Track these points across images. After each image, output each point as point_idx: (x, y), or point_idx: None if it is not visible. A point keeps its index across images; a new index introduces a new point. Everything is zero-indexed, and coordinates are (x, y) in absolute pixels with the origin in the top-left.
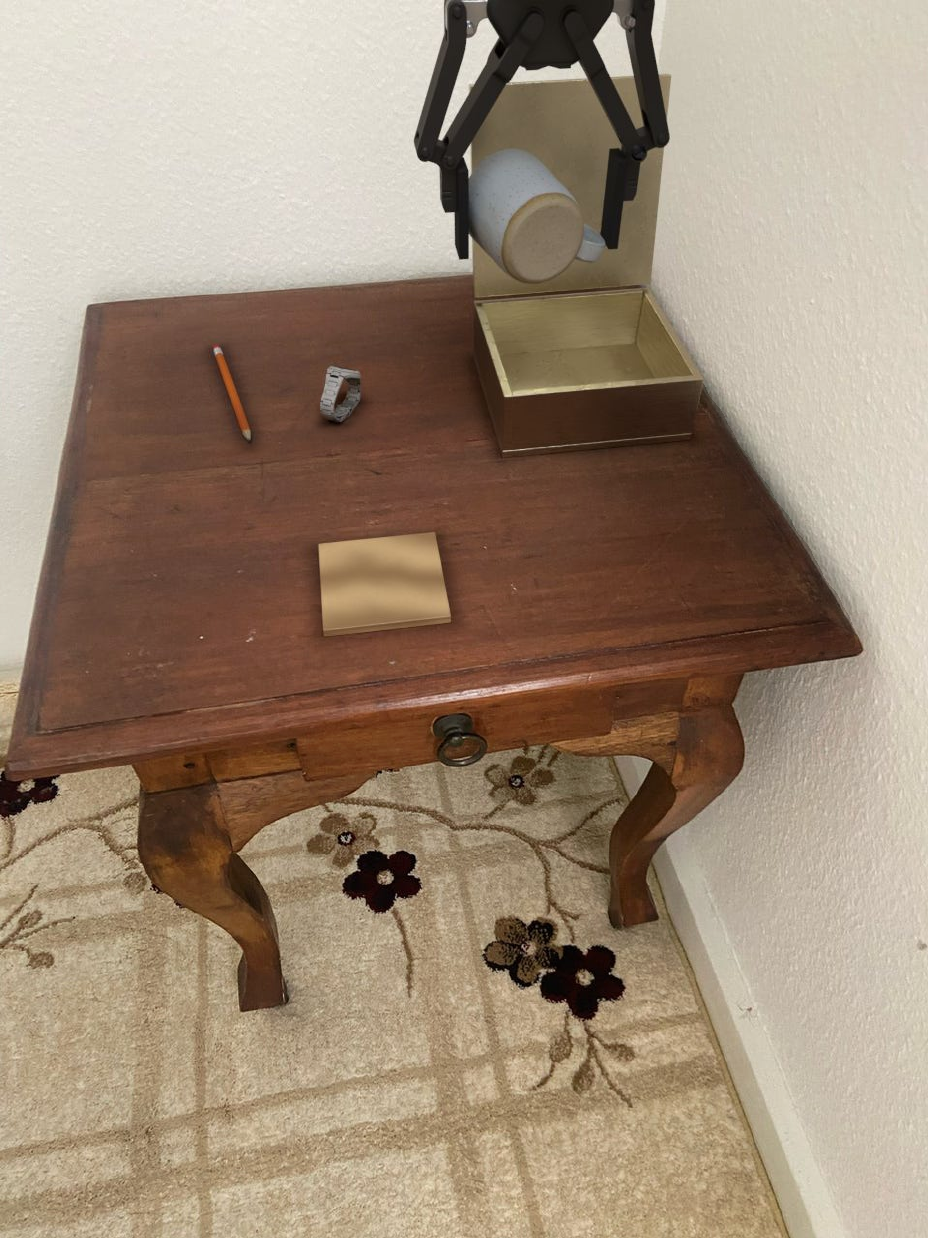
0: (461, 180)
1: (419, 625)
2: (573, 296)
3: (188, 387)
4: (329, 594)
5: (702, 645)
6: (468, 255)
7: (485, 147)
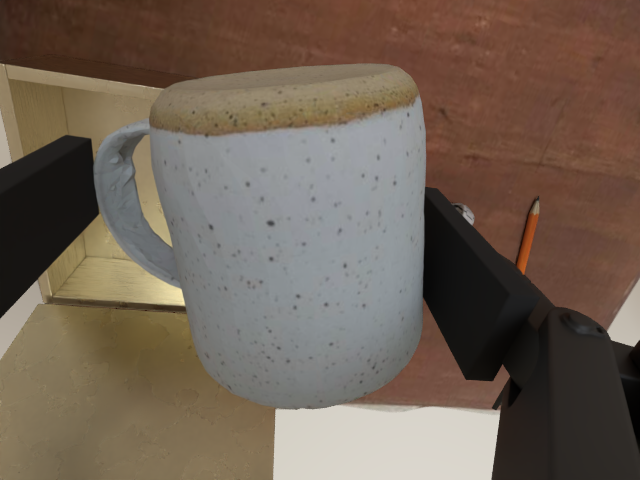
0: (516, 278)
1: None
2: (152, 303)
3: (546, 293)
4: None
5: None
6: None
7: None
